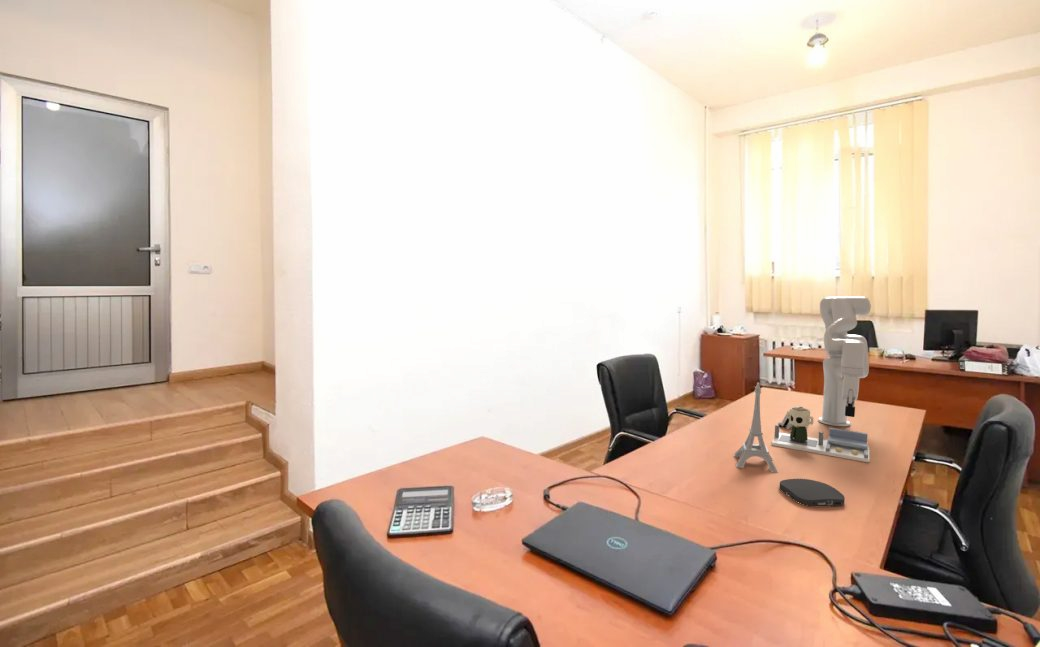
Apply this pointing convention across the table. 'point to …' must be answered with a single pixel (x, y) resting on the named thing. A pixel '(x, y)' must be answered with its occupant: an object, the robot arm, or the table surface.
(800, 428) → the character mug
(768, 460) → the eiffel tower
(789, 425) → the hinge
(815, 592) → the table surface
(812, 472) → the table surface
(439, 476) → the table surface
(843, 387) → the robot arm
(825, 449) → the board
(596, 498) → the table surface
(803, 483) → the media streaming box
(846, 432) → the cover
